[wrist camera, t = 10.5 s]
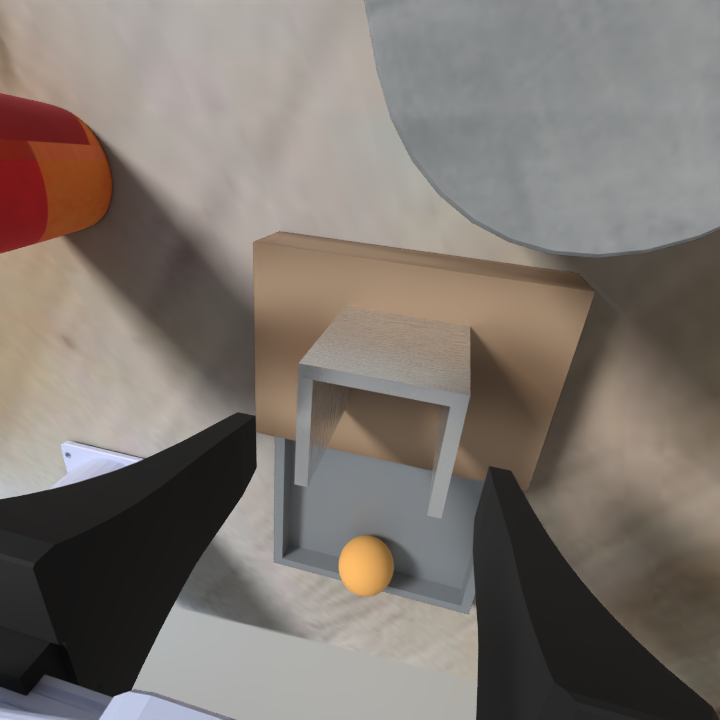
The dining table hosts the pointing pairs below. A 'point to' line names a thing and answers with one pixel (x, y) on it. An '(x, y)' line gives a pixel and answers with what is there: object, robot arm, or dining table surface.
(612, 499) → the dining table surface
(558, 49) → the hip flask
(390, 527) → the tray
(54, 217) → the coffee cup
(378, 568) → the ball
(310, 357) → the grey arch
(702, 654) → the dining table surface
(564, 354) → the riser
